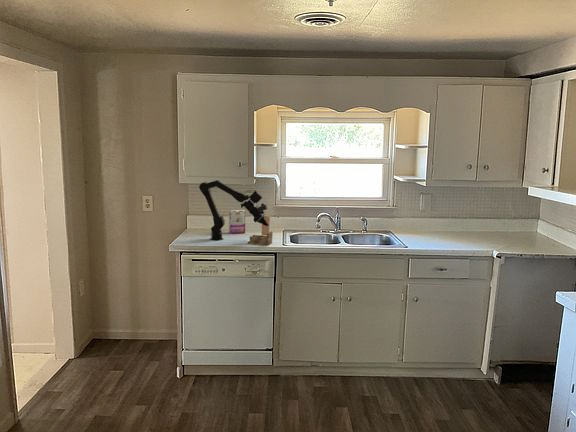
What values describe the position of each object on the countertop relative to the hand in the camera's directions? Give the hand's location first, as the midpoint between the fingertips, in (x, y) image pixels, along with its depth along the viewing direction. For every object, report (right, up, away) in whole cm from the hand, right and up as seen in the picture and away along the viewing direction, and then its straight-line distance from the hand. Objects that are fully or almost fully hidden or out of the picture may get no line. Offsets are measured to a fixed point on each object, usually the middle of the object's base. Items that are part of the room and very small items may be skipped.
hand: (267, 225), depth 314 cm
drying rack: (-5, -12, -6) cm, 14 cm away
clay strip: (-2, -7, +1) cm, 7 cm away
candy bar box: (-23, -6, +26) cm, 36 cm away
